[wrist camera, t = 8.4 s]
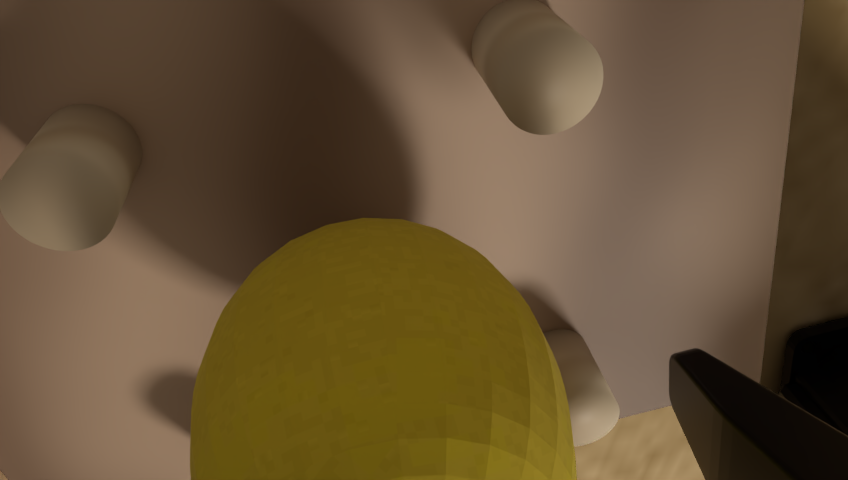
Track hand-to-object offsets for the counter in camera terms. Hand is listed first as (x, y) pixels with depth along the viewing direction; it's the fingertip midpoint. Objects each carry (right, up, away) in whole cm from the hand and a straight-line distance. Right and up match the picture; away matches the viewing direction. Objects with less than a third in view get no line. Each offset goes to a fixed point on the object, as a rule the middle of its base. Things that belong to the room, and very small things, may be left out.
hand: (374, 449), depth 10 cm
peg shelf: (-1, +5, +8) cm, 9 cm away
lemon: (-1, +3, +4) cm, 5 cm away
